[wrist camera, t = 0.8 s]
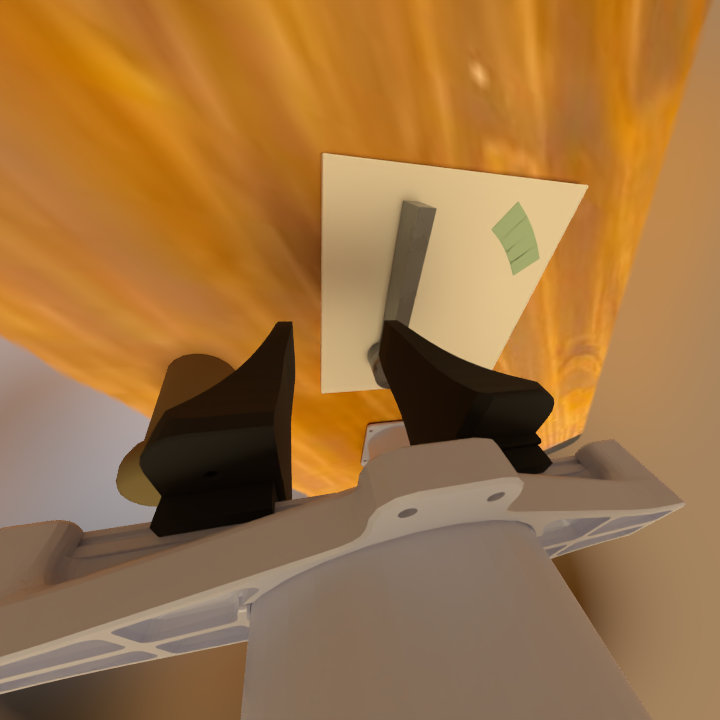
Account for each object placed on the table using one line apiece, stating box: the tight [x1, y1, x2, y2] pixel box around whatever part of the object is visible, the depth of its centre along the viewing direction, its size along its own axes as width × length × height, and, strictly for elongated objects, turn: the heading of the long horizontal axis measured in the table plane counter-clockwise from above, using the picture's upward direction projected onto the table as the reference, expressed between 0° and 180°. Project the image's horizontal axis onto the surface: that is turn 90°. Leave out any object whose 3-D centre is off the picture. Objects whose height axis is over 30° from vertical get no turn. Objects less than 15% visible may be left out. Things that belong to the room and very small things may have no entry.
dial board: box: [321, 153, 589, 393], centre depth 24 cm, size 20×20×1 cm
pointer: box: [367, 200, 437, 389], centre depth 21 cm, size 15×3×3 cm, turn 174°
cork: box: [116, 354, 235, 507], centre depth 20 cm, size 6×6×11 cm
